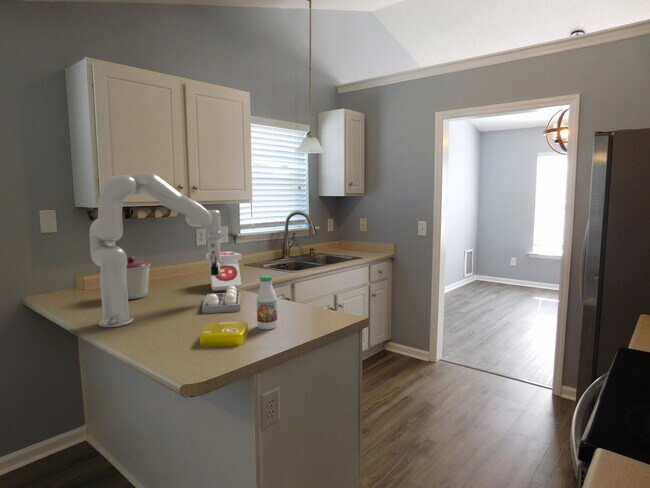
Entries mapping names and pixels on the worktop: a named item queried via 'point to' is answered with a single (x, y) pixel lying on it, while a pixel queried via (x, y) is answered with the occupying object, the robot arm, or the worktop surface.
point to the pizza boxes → (227, 272)
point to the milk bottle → (266, 304)
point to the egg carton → (222, 301)
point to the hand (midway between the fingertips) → (215, 273)
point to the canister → (137, 278)
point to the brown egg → (218, 269)
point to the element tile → (224, 334)
